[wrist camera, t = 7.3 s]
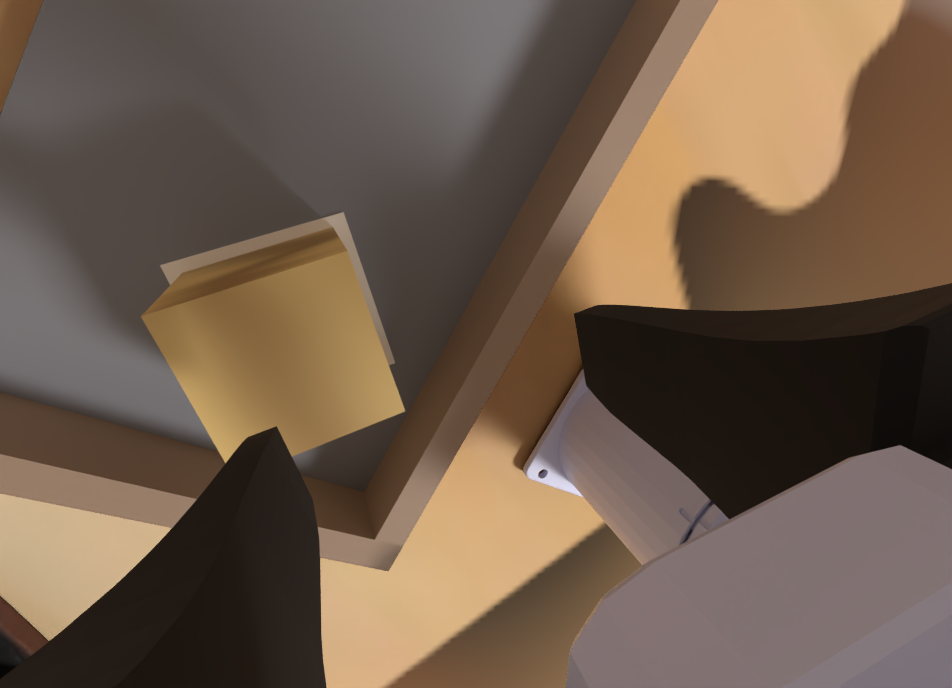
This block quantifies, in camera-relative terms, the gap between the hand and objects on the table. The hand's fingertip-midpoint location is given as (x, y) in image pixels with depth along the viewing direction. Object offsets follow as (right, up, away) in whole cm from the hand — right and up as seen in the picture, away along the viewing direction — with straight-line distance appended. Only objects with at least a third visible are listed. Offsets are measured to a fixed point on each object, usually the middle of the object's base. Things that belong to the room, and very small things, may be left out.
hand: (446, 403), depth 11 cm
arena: (-5, +7, +6) cm, 11 cm away
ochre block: (-6, +2, +6) cm, 9 cm away
